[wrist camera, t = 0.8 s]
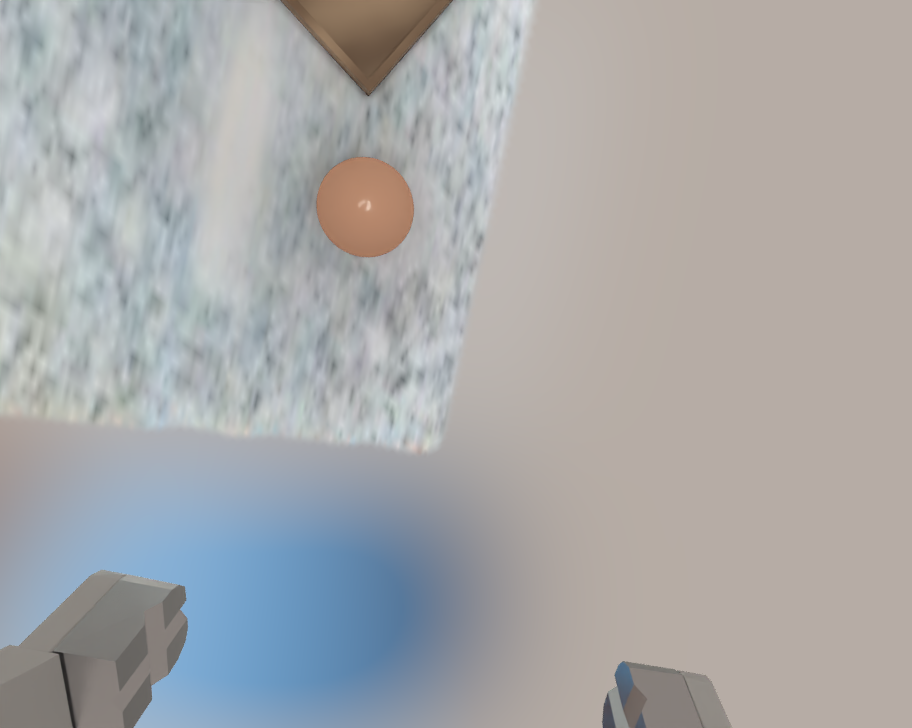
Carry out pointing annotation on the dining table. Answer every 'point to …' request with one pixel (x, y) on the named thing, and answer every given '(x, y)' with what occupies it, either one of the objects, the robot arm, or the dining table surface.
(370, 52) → the tray
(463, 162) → the dining table surface
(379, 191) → the peach cylinder
